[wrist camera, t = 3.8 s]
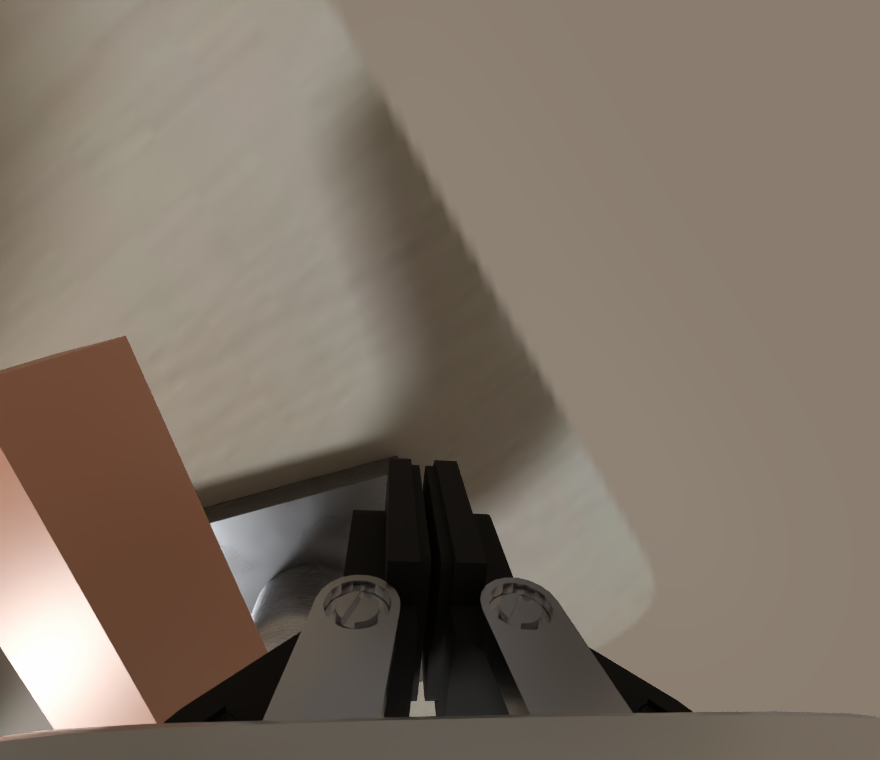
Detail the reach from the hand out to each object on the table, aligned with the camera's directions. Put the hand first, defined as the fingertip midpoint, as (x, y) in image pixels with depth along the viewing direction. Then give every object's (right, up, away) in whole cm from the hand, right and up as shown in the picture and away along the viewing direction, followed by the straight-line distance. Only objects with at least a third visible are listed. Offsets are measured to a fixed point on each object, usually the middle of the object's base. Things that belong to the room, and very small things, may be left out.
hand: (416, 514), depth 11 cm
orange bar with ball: (-5, -3, +1) cm, 6 cm away
